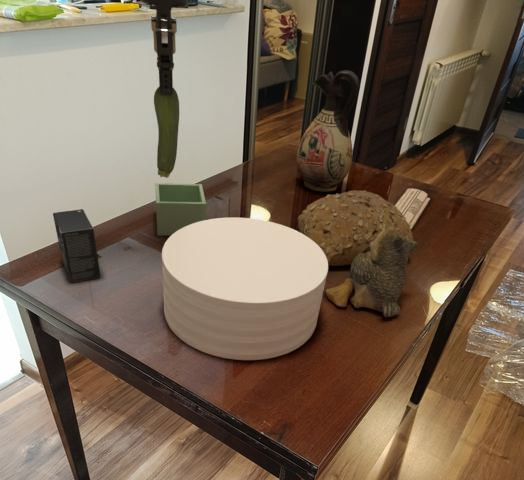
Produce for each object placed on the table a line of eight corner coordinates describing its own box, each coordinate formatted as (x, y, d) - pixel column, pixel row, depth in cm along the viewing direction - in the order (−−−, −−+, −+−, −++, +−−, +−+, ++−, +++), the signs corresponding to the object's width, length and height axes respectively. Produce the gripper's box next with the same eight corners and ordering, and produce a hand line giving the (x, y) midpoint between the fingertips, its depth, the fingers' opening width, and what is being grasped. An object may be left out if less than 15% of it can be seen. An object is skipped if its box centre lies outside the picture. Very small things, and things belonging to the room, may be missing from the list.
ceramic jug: (281, 184, 136) (297, 63, 117) (311, 171, 146) (329, 58, 127) (333, 204, 129) (358, 79, 110) (360, 189, 139) (388, 72, 120)
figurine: (348, 271, 103) (364, 204, 94) (412, 296, 98) (437, 229, 89) (318, 300, 94) (333, 229, 84) (388, 330, 89) (412, 258, 79)
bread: (370, 221, 123) (383, 175, 116) (417, 264, 109) (435, 214, 101) (283, 228, 116) (289, 179, 108) (320, 275, 101) (331, 222, 93)
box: (62, 262, 95) (52, 212, 88) (91, 258, 97) (84, 208, 90) (70, 283, 90) (60, 231, 83) (101, 278, 92) (94, 227, 85)
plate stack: (272, 384, 75) (281, 326, 68) (131, 319, 84) (125, 261, 76) (339, 301, 94) (352, 248, 87) (219, 255, 103) (221, 204, 96)
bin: (157, 235, 107) (155, 202, 102) (156, 214, 115) (155, 182, 110) (205, 235, 109) (206, 203, 104) (201, 214, 117) (201, 184, 112)
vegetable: (167, 171, 96) (164, 55, 83) (185, 177, 94) (184, 60, 81) (152, 177, 93) (146, 58, 80) (170, 184, 91) (166, 63, 78)
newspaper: (406, 192, 141) (408, 186, 140) (430, 199, 139) (432, 193, 138) (384, 221, 124) (386, 215, 123) (411, 229, 122) (413, 222, 121)
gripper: (137, -41, 77) (144, 80, 88) (134, -35, 67) (143, 101, 78) (185, -36, 79) (186, 82, 90) (189, -29, 68) (190, 104, 79)
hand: (166, 90), depth 84 cm, fingers closed on vegetable, 3 cm apart
